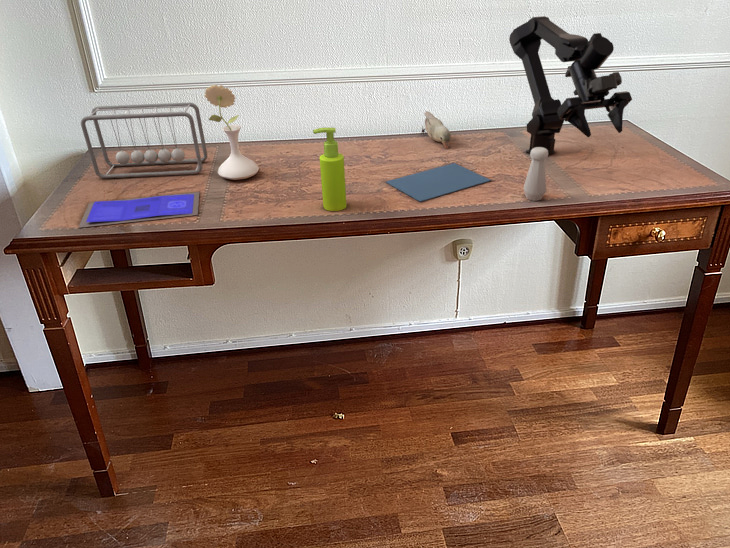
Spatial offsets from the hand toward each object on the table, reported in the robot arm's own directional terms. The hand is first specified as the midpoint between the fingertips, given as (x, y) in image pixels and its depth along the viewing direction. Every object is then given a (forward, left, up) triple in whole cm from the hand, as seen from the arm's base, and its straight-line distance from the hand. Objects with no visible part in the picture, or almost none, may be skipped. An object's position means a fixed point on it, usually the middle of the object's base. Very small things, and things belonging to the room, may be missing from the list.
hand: (605, 134), depth 153 cm
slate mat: (-32, -27, -14) cm, 44 cm away
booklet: (-74, -93, -14) cm, 119 cm away
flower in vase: (-76, -63, -14) cm, 100 cm away
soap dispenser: (-40, -57, -14) cm, 72 cm away
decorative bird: (-55, -2, -14) cm, 57 cm away
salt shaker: (-7, -17, -14) cm, 24 cm away
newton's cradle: (-98, -78, -14) cm, 126 cm away
